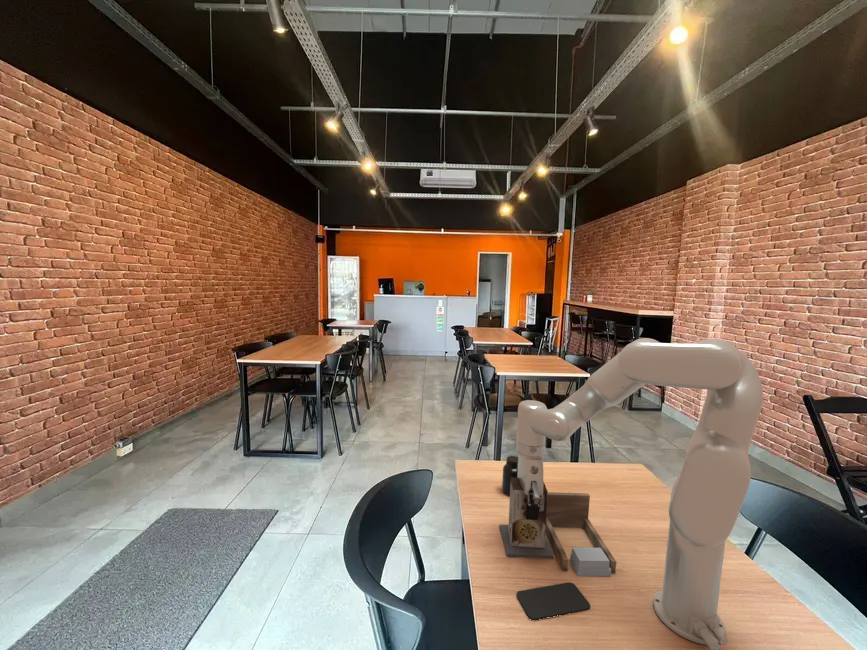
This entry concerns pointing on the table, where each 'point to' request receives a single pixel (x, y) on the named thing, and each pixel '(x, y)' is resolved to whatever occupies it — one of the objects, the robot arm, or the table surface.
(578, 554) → the block
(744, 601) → the table surface
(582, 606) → the phone
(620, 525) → the table surface
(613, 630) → the table surface
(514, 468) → the supplement bottle
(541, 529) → the coffee box
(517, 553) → the dark grey square plate
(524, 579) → the table surface
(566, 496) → the walnut rack
